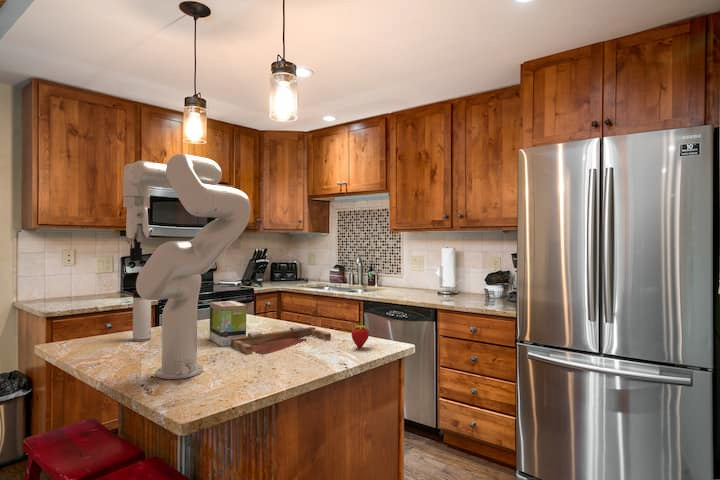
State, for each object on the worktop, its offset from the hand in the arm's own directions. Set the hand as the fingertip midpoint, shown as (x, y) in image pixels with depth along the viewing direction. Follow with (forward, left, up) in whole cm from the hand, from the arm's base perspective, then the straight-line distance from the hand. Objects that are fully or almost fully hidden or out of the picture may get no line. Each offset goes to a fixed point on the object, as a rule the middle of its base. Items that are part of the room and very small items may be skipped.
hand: (135, 260), depth 140 cm
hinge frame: (-8, -49, -32) cm, 59 cm away
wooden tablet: (-9, -47, -33) cm, 58 cm away
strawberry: (-32, -67, -32) cm, 81 cm away
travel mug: (+30, -9, -32) cm, 45 cm away
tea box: (+8, -34, -32) cm, 48 cm away
